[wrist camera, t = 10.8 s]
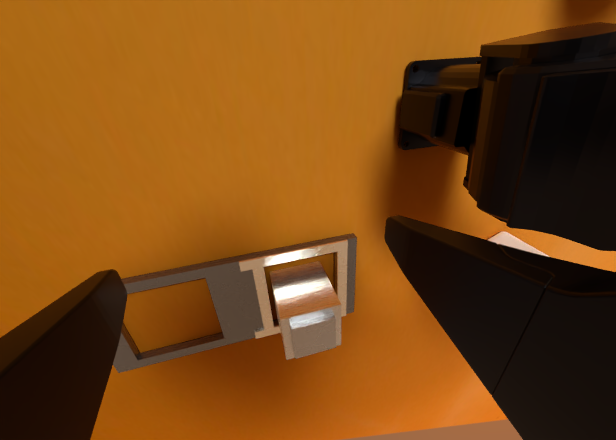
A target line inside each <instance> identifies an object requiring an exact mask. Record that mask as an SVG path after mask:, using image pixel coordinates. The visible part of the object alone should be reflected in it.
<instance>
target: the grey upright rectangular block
mask: <svg viewBox="0 0 616 440" xmlns="http://www.w3.org/2000/svg"><path fill="white" fill-rule="evenodd" d="M270 278H271V284H272V290H273V297H274V303H275V309H276V314H277V318H278V323H279V328H280V332H281V337H282V342H283V346H284V351H285V355H286V360H288V359H292V358H295V359H297V358H301V357H304V356H308V355H311V354H315V353H318V352H322V351H325V350H329V349H332V348H336V346H338V345H341V303H340V301H339V299H338V297H337V295H336V293H335V291H334V289H333V287H332V285H331V283H330V281H329V279H328V277H327V275H326V273H325V271H324V269H323V267H322V265H321V263H320V261H317V262H312V263H308V264H303V265H298V266H294V267H289V268H284V269H280V270H275V271H270Z"/></svg>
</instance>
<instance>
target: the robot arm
mask: <svg viewBox="0 0 616 440" xmlns="http://www.w3.org/2000/svg"><path fill="white" fill-rule="evenodd" d="M480 56H482V57H469V58H454V59H438V60H422V61H412V62H410V63H409V64H408V66H407V69H406V78H405V87H404V93H403V96H402V106H401V115H400V124H399V126H400V134H399V143H398V145H399V148H401V149H403V150H409V149H417V148H424V147H431V146H442V147H445V148H448V149H451V150H454V151H456V152H459V153H462V154H465V155H468V163H467V171H466V177H464V181H463V185H464V187H465V188H466V189H467V190H468V191H469V194H470V195H471V196H472V197H473V198H474V200H475V201H477V207H478V208H479V209H480V210H482V211H484V212H486V213H487V214H489V215H492V216H493V217H495V218H497V219H499V220H500V221H503V222H506V223H507V226H508V227H510V228H518V229H527V230H534V231H539V232H544V233H548V234H553V235H556V236H559V237H562V238H566V239H569V240H572V241H574V242H577V243H580V244H583V245H586V246H589V247H591V248H594V249H597V250H603V251H616V24H612V23H601V22H599V23H591V24H585V25H578V26H571V27H565V28H558V29H551V30H546V31H542V32H537V33H533V34H528V35H524V36H519V37H515V38H510V39H506V40H501V41H497V42H493V43H488V44H484V45H481V50H480ZM476 62H477V64H476ZM414 65H415V71H414V72H413V66H414ZM405 141H406V145H405V146H404V142H405ZM385 242H386V244H387V245H388V247H389V249H390V251H391V253H392V254H393V256H394V258H395V260H396V261H397V263H398V265H399V267H400V268H401V270H402V272H403V273H404V275H405V276H406V278H407V279H408V281H409V282H410V284H411V285H412V286H413V288H414V289H415V290H416V292H417V293H418V295H419V296H420V297H421V299H422V300H423V301H424V303H425V304H426V306H427V307H428V308H429V310H430V311H431V313H432V314H433V315H434V317H435V318H436V319H437V321H438V322H439V324H440V325H441V326H442V328H443V329H444V331H445V332H446V333H447V335H448V336H449V337H450V339H451V340H452V342H453V343H454V344H455V346H456V347H457V349H458V350H459V351H460V353H461V354H462V355H463V357H464V358H465V360H466V361H467V362H468V364H469V365H470V367H471V368H472V369H473V371H474V372H475V373H476V375H477V376H478V378H479V379H480V380H481V382H482V383H483V385H484V386H485V387H486V389H487V390H488V391H489V393H490V394H491V395H492V397H493V399H494V400H495V401H496V403H497V404H498V406H499V407H500V408H501V410H502V411H503V413H504V414H505V415H506V417H507V418H508V419H509V421H510V422H511V424H512V425H513V426H514V428H515V429H516V430H517V432H518V433H519V435H520V436H521V437H522V439H523V440H616V272H612V271H607V270H602V269H598V268H594V267H590V266H585V265H581V264H577V263H573V262H568V261H564V260H560V259H556V258H552V257H548V256H544V255H539V254H535V253H531V252H528V251H524V250H520V249H517V248H513V247H509V246H506V245H502V244H497V243H495V242H491V241H488V240H484V239H481V238H477V237H474V236H470V235H467V234H463V233H460V232H456V231H452V230H449V229H445V228H442V227H438V226H435V225H431V224H428V223H424V222H421V221H417V220H414V219H410V218H407V217H403V216H399V215H396V216H390V217H388V218H387V220H386V226H385ZM126 301H127V290H126V288H125V286H124V284H123V282H122V280H121V278H120V276H119V274H118V272H117V271H116V270H113V269H110V270H105V271H100V272H97V273H96V274H94V275H93V276H91V277H90V278H88V279H87V280H85V281H84V282H82V283H81V284H80V285H78V286H77V287H75V288H74V289H72V290H71V291H69V292H68V293H66V294H65V295H63V296H62V297H60V298H59V299H57V300H56V301H54V302H53V303H51V304H50V305H48V306H47V307H45V308H44V309H42V310H41V311H39V312H38V313H37V314H35V315H34V316H32V317H31V318H29V319H28V320H26V321H25V322H23V323H22V324H20V325H19V326H17V327H16V328H14V329H13V330H11V331H10V332H8V333H7V334H5V335H4V336H2V337H1V338H0V440H90V438H91V435H92V432H93V428H94V425H95V422H96V418H97V415H98V412H99V409H100V405H101V402H102V399H103V395H104V392H105V389H106V385H107V382H108V379H109V375H110V372H111V369H112V365H113V362H114V359H115V355H116V352H117V348H118V345H119V341H120V336H121V330H122V324H123V319H124V313H125V307H126Z"/></svg>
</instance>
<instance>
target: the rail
mask: <svg viewBox="0 0 616 440" xmlns="http://www.w3.org/2000/svg"><path fill="white" fill-rule="evenodd" d="M356 245H357V237H356V236H355V235H354V233H353V234H347V235H342V236H337V237H332V238H327V239H322V240H317V241H312V242H307V243H302V244H297V245H292V246H286V247H281V248H276V249H271V250H266V251H261V252H256V253H251V254H246V255H241V256H236V257H231V258H226V259H220V260H215V261H210V262H205V263H200V264H195V265H190V266H185V267H180V268H175V269H170V270H165V271H160V272H154V273H149V274H144V275H139V276H134V277H129V278H124V279H121V280H122V282H123V284H124V286H125V288H126V290H127V294H129V293H134V292H139V291H143V290H148V289H153V288H158V287H163V286H168V285H172V284H177V283H182V282H187V281H192V280H196V279H201V278H206V281H207V284H208V287H209V291H210V294H211V297H212V300H213V303H214V307H215V310H216V313H217V316H218V319H219V323H220V326H221V329H222V332H223V333H219V334H215V335H211V336H207V337H203V338H199V339H195V340H191V341H187V342H183V343H179V344H175V345H171V346H167V347H163V348H159V349H155V350H151V351H147V352H143V353H140V352H139V350H138V349H137V347H136V345H135V343H134V342H133V340H132V338H131V336H130V335H129V333H128V331H127V329H126V328H125V326H124V324H122V330H121V336H120V341H119V345H118V348H117V352H116V355H115V359H114V362H113V365H114V367H115V368H116V370H117V371H118V373H120V372H124V371H128V370H132V369H136V368H140V367H143V366H147V365H151V364H155V363H159V362H163V361H167V360H170V359H174V358H178V357H182V356H186V355H190V354H194V353H197V352H201V351H205V350H209V349H213V348H217V347H221V346H224V345H228V344H232V343H236V342H240V341H244V340H248V339H251V338H255V337H256V339H258V338H262V337H265V336H269V335H273V334H277V333H281V332H280V328H279V323H278V319H275V320H273V319H272V313H271V307H270V301H269V295H268V290H267V284H266V278H265V272H264V267H266V266H271V265H275V264H280V263H285V262H290V261H295V260H299V259H304V258H309V257H314V256H319V255H323V254H328V253H333V252H334V291H335V293H336V295H337V297H338V299H339V301H340V303H341V317H342V316H346V314H348V313H352V312H354V295H355V270H356ZM73 289H74V288H73Z"/></svg>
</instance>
